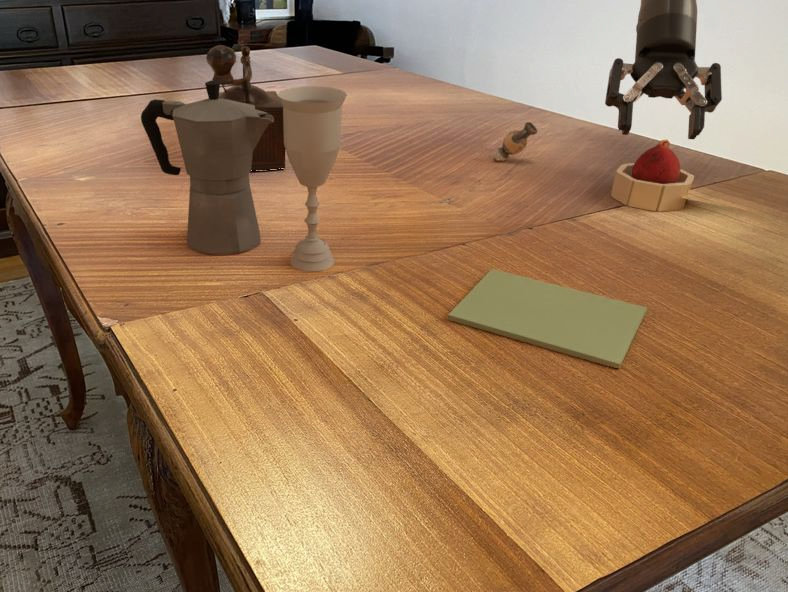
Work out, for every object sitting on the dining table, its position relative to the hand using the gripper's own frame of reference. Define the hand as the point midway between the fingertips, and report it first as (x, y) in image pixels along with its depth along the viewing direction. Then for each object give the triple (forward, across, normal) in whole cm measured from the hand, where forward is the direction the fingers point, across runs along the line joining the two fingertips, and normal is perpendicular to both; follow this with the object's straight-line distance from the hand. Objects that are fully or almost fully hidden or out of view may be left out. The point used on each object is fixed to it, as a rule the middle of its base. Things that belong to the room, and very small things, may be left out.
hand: (660, 134), depth 95 cm
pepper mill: (+8, -57, +4) cm, 58 cm away
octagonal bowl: (+8, 0, +4) cm, 8 cm away
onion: (+8, 0, +4) cm, 9 cm away
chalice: (+29, -41, -18) cm, 53 cm away
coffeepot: (+27, -53, -15) cm, 61 cm away
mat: (+34, -16, -23) cm, 44 cm away
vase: (-1, -18, +13) cm, 22 cm away
